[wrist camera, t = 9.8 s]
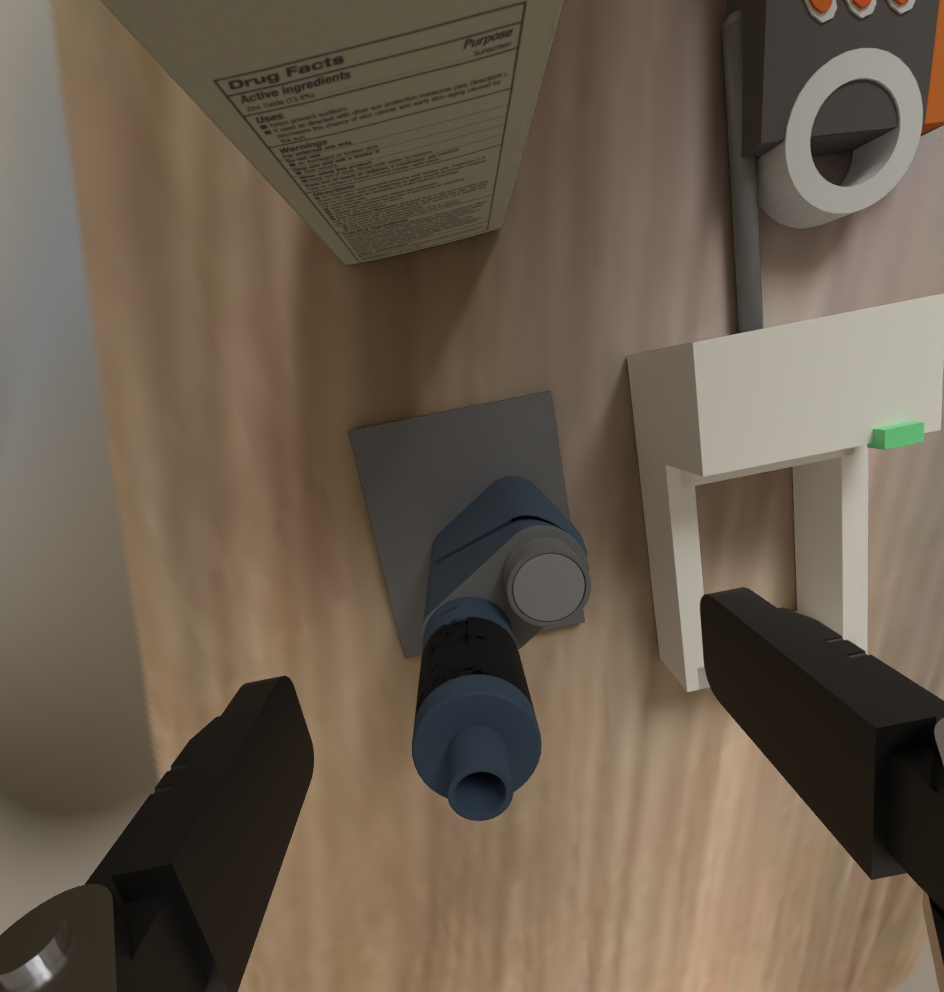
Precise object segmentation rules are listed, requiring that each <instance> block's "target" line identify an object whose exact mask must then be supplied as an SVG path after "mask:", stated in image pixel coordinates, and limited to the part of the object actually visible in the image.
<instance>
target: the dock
mask: <svg viewBox="0 0 944 992" xmlns="http://www.w3.org/2000/svg"><path fill="white" fill-rule="evenodd" d="M722 36H723V54H724V72H725V90H726V108H727V126H728V144H729V162H730V180H731V198H732V216H733V234H734V251H735V269H736V287H737V305H738V323H739V333H738V334H733V335H728V336H723V337H718V338H713V339H708V340H702V341H697V342H692V343H687V344H683V345H678V346H673V347H668V348H664V349H659V350H654V351H649V352H645V353H640V354H635V355H630V356H627V363H628V372H629V381H630V391H631V400H632V409H633V418H634V427H635V436H636V446H637V455H638V464H639V473H640V482H641V491H642V501H643V510H644V519H645V528H646V537H647V546H648V556H649V565H650V574H651V583H652V592H653V601H654V611H655V620H656V629H657V638H658V647H659V656H660V659H661V660H662V661H663V663H664V664H665V665H666V666H667V668H668V669H669V670H670V671H671V673H672V674H673V675H674V676H675V678H676V679H677V680H678V681H679V683H680V684H681V685H682V686H683V687H684V689H685V690H686V691H687V692H691V691H696V690H701V689H706V688H711V687H710V685H709V683H708V680H707V677H706V673H705V669H704V659H703V646H702V632H701V619H700V600H701V598H702V596H703V595H704V591H703V579H702V567H701V554H700V542H699V530H698V518H697V506H696V493H695V486H697V485H702V484H707V483H712V482H717V481H723V480H728V479H733V478H738V477H743V476H748V475H753V474H758V473H763V472H768V471H773V470H778V469H783V468H788V467H792V468H793V499H794V529H795V560H796V591H797V611H794V612H797V613H799V614H802V615H805V616H808V617H811V618H813V619H816V620H818V621H819V622H821V623H822V624H824V625H825V626H827V627H829V628H830V629H832V630H833V631H835V632H836V633H838V634H839V635H841V636H842V638H843V640H849V641H850V642H852V643H854V644H855V645H857V646H858V647H860V648H861V649H863V650H865V652H866V654H867V609H868V448H876V449H884V450H885V449H890V448H895V447H900V446H905V445H911V444H916V443H921V442H924V433H927V432H932V431H938V430H941V409H942V384H943V360H944V294H939V295H933V296H928V297H923V298H918V299H913V300H908V301H903V302H898V303H892V304H887V305H882V306H877V307H872V308H867V309H862V310H856V311H851V312H846V313H841V314H836V315H831V316H826V317H821V318H815V319H810V320H805V321H800V322H795V323H790V324H785V325H779V326H774V327H769V328H764V329H763V311H762V289H761V266H760V243H759V221H758V198H757V176H756V156H753V155H751V156H745V157H741V145H742V86H743V13H742V11H741V10H736V11H734V12H733V13H732V14H730V15H729V17H728V18H727V19H726V21H725V23H724V26H723V31H722Z"/></svg>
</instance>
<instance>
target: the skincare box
mask: <svg viewBox="0 0 944 992" xmlns="http://www.w3.org/2000/svg"><path fill="white" fill-rule="evenodd" d="M100 1H101V2H102V3H103V4H104V5H105V6H106V7H107V8H108V9H109V11H110V12H111V13H112V14H113V15H114V16H115V17H116V18H117V19H118V20H119V21H120V23H121V24H122V25H123V26H124V27H125V28H126V29H127V30H128V31H129V32H130V33H131V34H132V35H133V36H134V37H135V39H136V40H137V41H138V42H139V43H140V44H141V45H142V46H143V47H144V48H145V49H146V50H147V51H148V52H149V53H150V54H151V56H152V57H153V58H154V59H155V60H156V61H157V62H158V63H159V64H160V65H161V67H162V68H163V69H164V70H165V71H166V72H167V73H168V74H169V76H170V77H171V78H172V79H173V80H174V81H175V82H176V83H177V84H178V85H179V86H180V87H181V88H182V89H183V90H184V91H185V92H186V93H187V94H188V96H189V97H190V98H191V99H192V100H193V101H194V102H195V103H196V104H197V105H198V106H199V107H200V108H201V110H202V111H203V112H204V113H205V114H206V115H207V116H208V117H209V118H210V119H211V120H212V122H213V123H214V124H215V125H216V126H217V127H218V128H219V129H220V130H221V131H222V132H223V133H224V135H225V136H226V137H227V138H228V139H229V140H230V141H231V142H232V143H233V144H234V145H235V147H236V148H237V149H238V150H239V151H240V152H241V153H242V154H243V155H244V156H245V157H246V158H247V160H248V161H249V162H250V163H251V164H252V165H253V166H254V167H255V168H256V169H257V170H258V171H259V172H260V173H261V175H262V176H263V177H264V178H265V179H266V180H267V181H268V182H269V183H270V185H271V186H272V187H273V188H274V189H275V190H276V191H277V192H278V193H279V194H280V195H281V196H282V197H283V198H284V200H285V201H286V202H287V203H288V204H289V205H290V206H291V207H292V208H293V209H294V210H295V211H296V212H297V213H298V215H299V216H300V217H301V218H302V219H303V220H304V221H305V222H306V223H307V224H308V226H309V227H310V228H311V229H312V230H313V231H314V232H315V233H316V234H317V236H318V237H319V238H320V239H321V240H322V241H323V242H324V243H325V244H326V245H327V246H328V247H329V248H330V249H331V251H332V252H333V253H334V254H335V255H336V256H337V257H338V258H339V259H340V260H341V261H342V263H344V264H346V265H353V264H357V263H362V262H367V261H373V260H377V259H382V258H387V257H391V256H396V255H400V254H405V253H409V252H413V251H417V250H421V249H425V248H429V247H433V246H438V245H442V244H445V243H449V242H453V241H457V240H461V239H464V238H468V237H472V236H475V235H479V234H482V233H486V232H489V231H493V230H497V229H499V228H501V227H502V226H503V225H504V221H505V217H506V214H507V210H508V207H509V202H510V199H511V195H512V191H513V187H514V184H515V181H516V177H517V173H518V169H519V165H520V162H521V158H522V154H523V151H524V147H525V143H526V139H527V136H528V132H529V128H530V124H531V121H532V118H533V114H534V110H535V107H536V103H537V99H538V96H539V91H540V87H541V83H542V80H543V76H544V72H545V68H546V64H547V61H548V58H549V55H550V51H551V46H552V43H553V39H554V35H555V32H556V28H557V24H558V20H559V16H560V13H561V9H562V6H563V2H564V0H100Z"/></svg>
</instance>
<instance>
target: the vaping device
mask: <svg viewBox="0 0 944 992" xmlns="http://www.w3.org/2000/svg"><path fill="white" fill-rule="evenodd" d="M590 589H591V582H590V576H589V566H588V561H587V551H586V548H585V545H584V542H583V539H582V536H581V535H580V534H579V532H578V531H577V529H576V528H575V527H574V525H573V524H572V523H571V522H570V521H569V520H568V519H567V518H566V517H565V516H564V515H563V514H562V513H561V511H560V510H559V509H558V508H557V507H556V506H555V505H554V504H553V503H552V502H551V501H550V500H549V499H548V498H547V497H546V496H545V495H544V494H543V492H542V491H541V490H540V489H539V488H538V487H537V486H535V485H534V484H533V483H532V482H530V481H529V480H527V479H524V478H522V477H518V476H507V477H503V478H500V479H498V480H496V481H494V482H493V483H492V484H490V485H489V486H488V487H487V488H486V489H485V490H484V491H483V492H482V493H481V494H480V495H479V496H478V497H477V498H476V499H475V500H474V501H472V502H471V503H470V504H469V505H468V506H467V507H466V508H465V509H464V510H463V511H462V512H461V513H460V514H459V515H458V516H457V517H456V518H455V519H453V520H452V521H451V522H450V523H449V524H448V525H447V526H446V527H445V528H444V529H443V530H442V531H441V532H440V533H439V534H438V535H437V536H436V537H435V539H434V541H433V544H432V552H431V560H430V568H429V577H428V585H427V593H426V601H425V610H424V618H423V625H422V628H421V634H420V639H421V646H422V649H423V650H422V659H421V661H422V662H421V669H420V677H419V686H418V695H417V704H416V705H417V706H416V713H417V714H416V713H415V715H416V717H415V722H414V732H413V741H412V756H413V761H414V765H415V767H416V770H417V772H418V774H419V775H420V777H421V778H422V780H423V781H424V782H425V783H426V784H427V785H428V786H429V787H430V788H431V789H432V790H433V791H435V792H436V793H438V794H439V795H441V796H443V797H445V798H448V801H449V803H450V806H451V807H452V809H453V810H454V811H455V812H456V813H457V814H459V815H460V816H462V817H464V818H466V819H469V820H475V821H483V820H489V819H492V818H494V817H496V816H498V815H500V814H501V813H503V812H504V811H505V810H506V809H507V807H508V806H509V804H510V802H511V800H512V797H513V792H514V791H516V790H517V789H519V788H520V787H521V786H522V785H523V784H524V783H525V782H526V781H527V780H528V779H529V778H530V776H531V775H532V774H533V772H534V770H535V768H536V766H537V764H538V762H539V758H540V754H541V736H540V731H539V727H538V723H537V720H536V716H535V712H534V708H533V704H532V701H531V697H530V693H529V689H528V686H527V682H526V678H525V674H524V671H523V667H522V663H521V659H520V655H519V652H518V650H519V649H520V648H521V647H522V646H523V645H525V644H526V643H527V642H528V641H529V640H530V639H531V638H532V637H534V636H535V635H536V634H537V633H538V632H539V631H540V630H542V629H543V628H544V627H553V626H558V625H561V624H564V623H566V622H568V621H570V620H572V619H573V618H574V617H576V616H577V615H578V614H579V613H580V612H581V611H582V609H583V608H584V606H585V605H586V603H587V601H588V599H589V595H590Z"/></svg>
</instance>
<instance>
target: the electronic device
mask: <svg viewBox="0 0 944 992" xmlns="http://www.w3.org/2000/svg"><path fill="white" fill-rule="evenodd" d="M736 10H741V11H742V13H743V86H742V145H741V157H745V156H751V155H753V156H756V176H757V198H758V204H759V205H760V206H761V208H762V209H763V210H764V212H765V213H766V214H767V215H768V216H770V217H771V218H772V219H773V220H774V221H776V222H778V223H780V224H782V225H784V226H787V227H792V228H797V229H800V228H812V227H816V226H820V225H823V224H826V223H828V222H831V221H833V220H836V219H839V218H841V217H844V216H847V215H849V214H852V213H854V212H857V211H860V210H862V209H864V208H866V207H868V206H871V205H873V204H874V203H876V202H877V201H879V200H880V199H881V198H883V197H884V196H886V195H887V194H888V193H889V192H890V191H891V190H892V189H893V188H894V187H895V186H896V185H897V183H898V182H899V181H900V179H901V178H902V177H903V175H904V174H905V173H906V171H907V169H908V167H909V165H910V163H911V161H912V160H913V158H914V155H915V152H916V149H917V147H918V144H919V140H920V136H922V135H924V134H927V133H929V132H931V131H933V130H935V129H937V128H939V127H941V126H943V125H944V0H727V18H728V17H729V15H730V14H732V13H733V12H734V11H736ZM848 132H850V133H848ZM839 133H844V134H839ZM830 134H836V135H830ZM822 135H827V136H822ZM813 136H819V137H813ZM810 137H811V138H810ZM845 152H853V156H852V162H851V166H850V169H849V172H848V174H847V176H846V178H845V180H844V181H843V183H842V184H841V186H837V185H834V184H832V183H830V182H828V181H827V180H825V179H824V178H823V177H822V176H821V175H820V173H819V172H818V171H817V169H816V167H815V165H814V162H813V160H812V156H820V155H828V154H837V153H845ZM728 167H730V162H729V144H728Z"/></svg>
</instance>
